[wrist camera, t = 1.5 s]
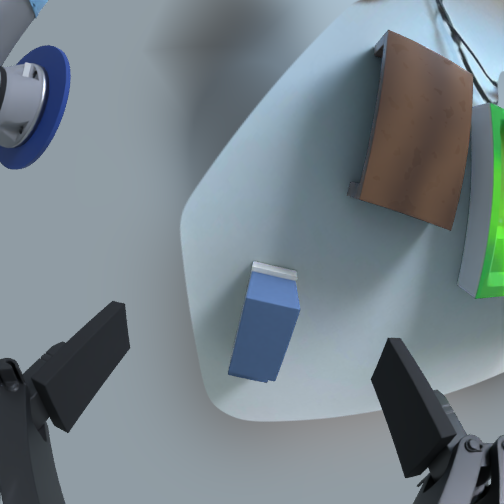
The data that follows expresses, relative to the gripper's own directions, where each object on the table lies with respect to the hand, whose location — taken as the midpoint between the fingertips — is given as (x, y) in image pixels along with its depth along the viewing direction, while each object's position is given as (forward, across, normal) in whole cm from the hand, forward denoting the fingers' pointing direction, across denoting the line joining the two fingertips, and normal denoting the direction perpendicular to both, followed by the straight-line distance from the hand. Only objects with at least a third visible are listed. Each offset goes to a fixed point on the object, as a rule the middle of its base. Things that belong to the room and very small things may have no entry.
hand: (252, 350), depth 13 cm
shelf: (+20, +15, +16) cm, 30 cm away
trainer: (+20, +1, -10) cm, 23 cm away
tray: (+21, +39, +12) cm, 46 cm away
